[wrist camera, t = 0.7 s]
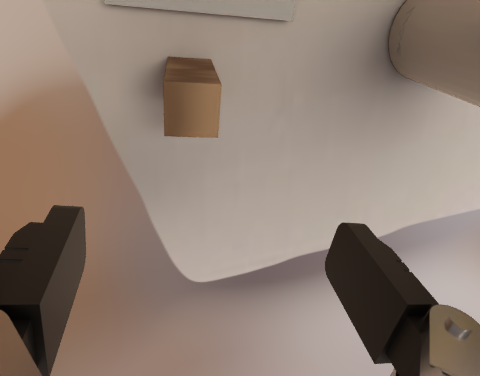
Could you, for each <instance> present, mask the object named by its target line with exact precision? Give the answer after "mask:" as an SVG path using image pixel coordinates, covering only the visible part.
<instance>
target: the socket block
mask: <svg viewBox="0 0 480 376" xmlns="http://www.w3.org/2000/svg"><path fill="white" fill-rule="evenodd" d="M295 1H296V0H104V4H111V5H122V6H133V7H144V8H155V9H165V10H176V11H187V12H198V13H209V14H220V15H231V16H242V17H253V18H264V19H275V20H286V21H293V15H294V8H295Z"/></svg>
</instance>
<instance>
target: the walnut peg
mask: <svg viewBox="0 0 480 376" xmlns="http://www.w3.org/2000/svg"><path fill="white" fill-rule="evenodd" d="M163 83H164V136H177V137H210V138H218V131H219V115H220V98H221V83H220V80H219V78H218V75H217V73H216V70H215V68H214V66H213V63H212V61H211V60H209V59H195V58H180V57H168V61H167V66H166V71H165V76H164V81H163Z"/></svg>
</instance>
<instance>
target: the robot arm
mask: <svg viewBox="0 0 480 376" xmlns="http://www.w3.org/2000/svg"><path fill="white" fill-rule="evenodd" d="M389 54H390V58H391V61H392V63H393V65H394V67H395V68H396V69H397V71H398V72H399V73H400V74H402V75H403V76H405V77H407V78H409V79H412V80H414V81H417V82H419V83H422V84H424V85H427V86H429V87H431V88H434V89H436V90H439V91H441V92H444V93H446V94H449V95H451V96H454V97H456V98H459V99H462V100H464V101H467V102H469V103H472V104H474V105H477V106H479V107H480V0H407V1H406V2H405V3H404V4H403V6H402V7H401V8H400V10H399V12H398V14H397V15H396V17H395V19H394V22H393V25H392V27H391V31H390V36H389ZM85 257H86V241H85V213H84V208H83V207H75V206H58V205H54V206H53V207H52V208H51V210H50V212H49V214H48V215H47V217H46V219H45V221H44V223H36V222H35V223H34V222H30V223H28V224H27V225H26V226H24V227H23V228H21V229H20V230H18V231H17V232H15V233H14V234H13V236H12V237H11V239H10V240H9V242H8V243H7V245H6V246H5V250H3V251H2V252H1V254H0V376H50V374H51V371H52V367H53V364H54V361H55V358H56V355H57V351H58V349H59V346H60V342H61V339H62V336H63V333H64V330H65V327H66V323H67V320H68V317H69V314H70V311H71V308H72V305H73V302H74V299H75V295H76V292H77V289H78V286H79V283H80V280H81V277H82V273H83V270H84V265H85ZM325 271H326V275H327V277H328V279H329V281H330V283H331V285H332V286H333V288H334V290H335V292H336V294H337V296H338V298H339V299H340V301H341V303H342V305H343V306H344V309H345V310H346V312H347V314H348V316H349V318H350V320H351V322H352V323H353V325H354V327H355V329H356V331H357V332H358V334H359V336H360V338H361V340H362V342H363V344H364V345H365V347H366V349H367V351H368V353H369V355H370V356H371V358H372V360H373V362H374V364H379V363H380V364H381V363H392V365H393V366H394V370H393V372H392V373H391V375H390V376H480V325H479V323H477V322H476V321H475V320H474V319H473V318H472V317H470V316H469V315H467V314H466V313H464V312H462V311H461V310H458V309H456V308H454V307H451V306H448V305H439V304H438V302H437V301H436V300H435V299H434V298H433V297H432V295H431V294H430V293H429V292H428V291H427V290H426V288H425V287H424V286H423V285H422V284H421V283H420V281H419V280H418V279H417V278H416V277H415V276H414V274H413V273H412V272H409V269H408V267H407V266H406V265H405V264H404V263H402V262H401V259H400V258H399V257H398V256H397V254H396V253H395V252H394V251H393V250H392V249H391V248H390V247H388V246H387V245H386V244H384V243H383V242H382V241H380V240H379V239H377V237H376V236H375V235H374V234H373V233H372V231H371V230H370V229H369V228H368V227H367V226H366V225H365V224H359V223H341V224H340V225H339V226H338V228H337V230H336V233H335V236H334V238H333V241H332V244H331V246H330V249H329V252H328V254H327V257H326V261H325Z"/></svg>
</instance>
